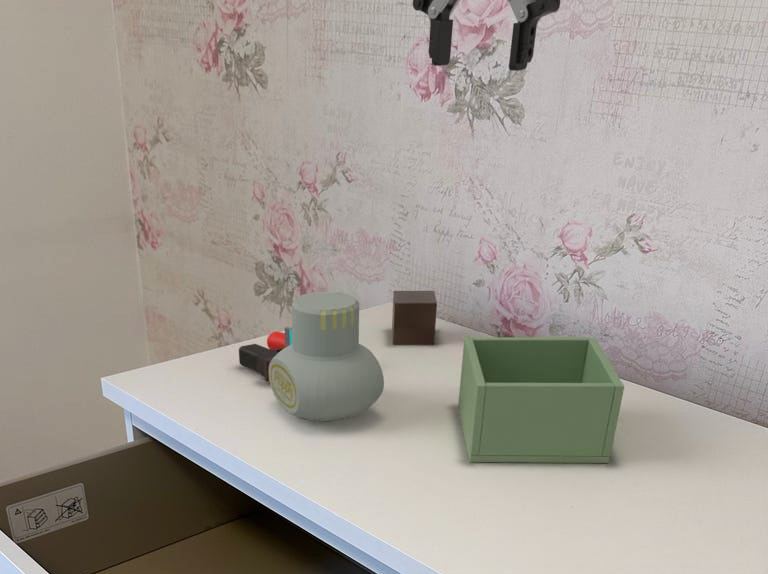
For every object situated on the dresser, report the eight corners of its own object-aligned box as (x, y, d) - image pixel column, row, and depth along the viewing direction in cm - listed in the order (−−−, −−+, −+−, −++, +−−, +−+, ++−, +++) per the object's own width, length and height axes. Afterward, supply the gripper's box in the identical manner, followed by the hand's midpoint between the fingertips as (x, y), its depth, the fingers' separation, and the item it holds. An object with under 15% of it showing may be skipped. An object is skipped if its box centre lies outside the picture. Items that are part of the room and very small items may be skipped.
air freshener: (392, 424, 85) (397, 311, 79) (307, 440, 82) (307, 325, 76) (340, 382, 93) (341, 278, 87) (262, 396, 90) (258, 290, 85)
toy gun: (373, 368, 96) (374, 320, 93) (265, 390, 92) (264, 340, 89) (329, 340, 103) (329, 294, 100) (227, 359, 99) (224, 312, 96)
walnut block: (431, 331, 105) (434, 290, 102) (434, 344, 101) (437, 302, 99) (391, 331, 105) (393, 290, 102) (392, 344, 102) (394, 303, 99)
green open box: (582, 408, 87) (595, 337, 83) (609, 463, 78) (624, 386, 74) (457, 407, 87) (464, 337, 84) (469, 462, 78) (477, 385, 74)
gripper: (596, -157, 79) (564, 68, 89) (451, -147, 87) (437, 60, 96) (552, -162, 74) (524, 76, 84) (404, -151, 82) (394, 66, 92)
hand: (477, 67), depth 90 cm, fingers open, 8 cm apart
